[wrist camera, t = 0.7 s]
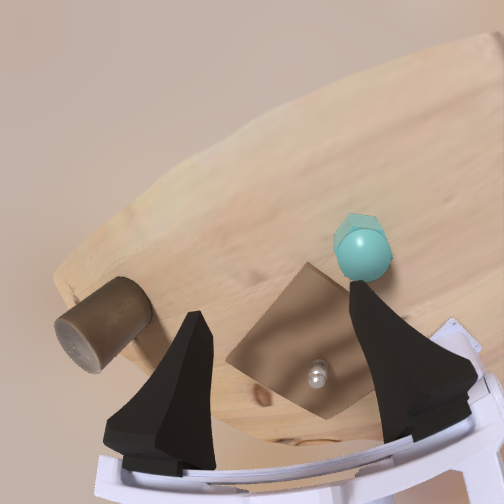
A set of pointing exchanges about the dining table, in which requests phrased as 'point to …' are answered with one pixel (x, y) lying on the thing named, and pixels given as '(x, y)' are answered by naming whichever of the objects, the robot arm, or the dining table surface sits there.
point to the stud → (318, 373)
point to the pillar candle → (103, 324)
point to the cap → (362, 248)
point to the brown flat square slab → (307, 346)
